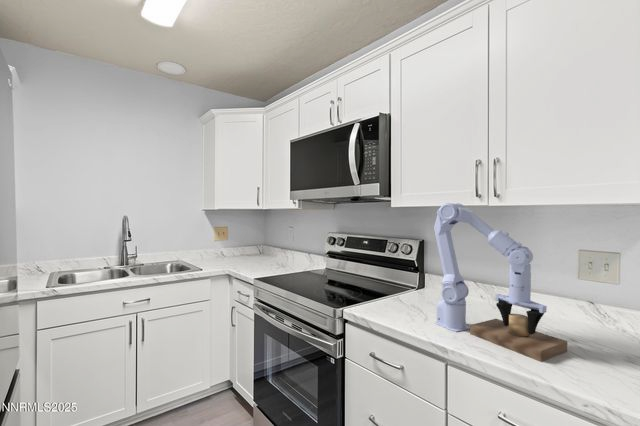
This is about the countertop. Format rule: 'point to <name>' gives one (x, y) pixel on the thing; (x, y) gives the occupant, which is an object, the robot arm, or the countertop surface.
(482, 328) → the walnut board
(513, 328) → the oak peg
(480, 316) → the countertop surface
